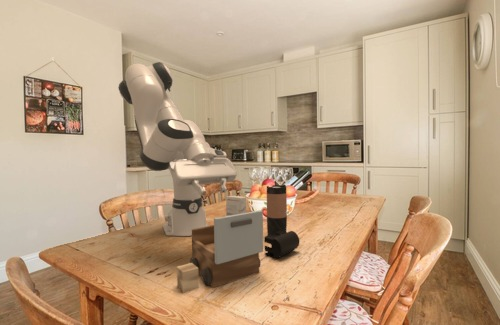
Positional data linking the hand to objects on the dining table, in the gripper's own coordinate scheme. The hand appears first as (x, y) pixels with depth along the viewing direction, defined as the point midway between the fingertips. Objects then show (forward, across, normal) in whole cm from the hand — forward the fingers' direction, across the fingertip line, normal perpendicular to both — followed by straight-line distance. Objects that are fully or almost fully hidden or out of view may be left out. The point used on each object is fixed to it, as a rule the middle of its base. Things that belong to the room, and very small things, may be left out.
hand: (214, 192), depth 80 cm
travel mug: (+10, +30, +20) cm, 38 cm away
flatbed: (+19, 0, +11) cm, 22 cm away
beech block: (+21, -12, +9) cm, 26 cm away
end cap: (+20, +21, +11) cm, 31 cm away
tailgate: (+20, 0, +1) cm, 20 cm away
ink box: (-11, +31, +42) cm, 53 cm away
